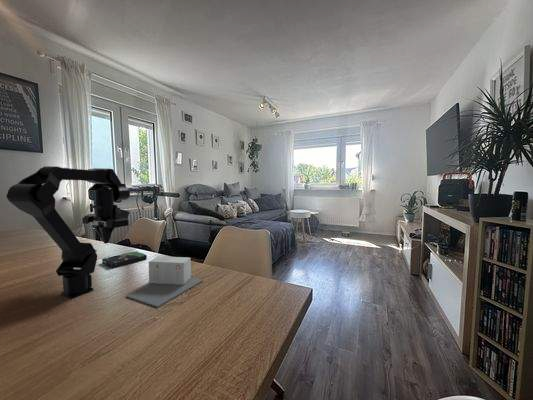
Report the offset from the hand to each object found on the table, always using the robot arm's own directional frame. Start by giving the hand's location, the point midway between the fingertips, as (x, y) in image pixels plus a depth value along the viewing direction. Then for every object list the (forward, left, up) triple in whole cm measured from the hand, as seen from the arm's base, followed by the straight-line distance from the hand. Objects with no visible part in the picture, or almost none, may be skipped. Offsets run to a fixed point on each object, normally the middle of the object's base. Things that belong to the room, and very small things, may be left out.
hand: (106, 243), depth 88 cm
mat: (+3, -28, -13) cm, 31 cm away
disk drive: (+14, +10, -14) cm, 22 cm away
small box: (+5, -19, -8) cm, 21 cm away
